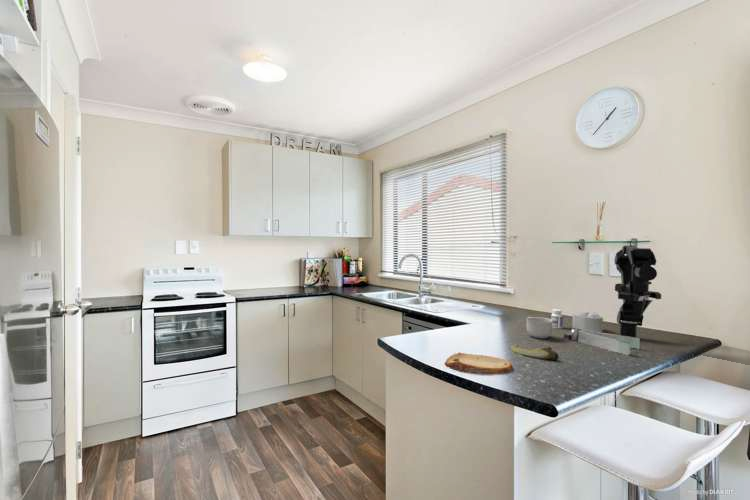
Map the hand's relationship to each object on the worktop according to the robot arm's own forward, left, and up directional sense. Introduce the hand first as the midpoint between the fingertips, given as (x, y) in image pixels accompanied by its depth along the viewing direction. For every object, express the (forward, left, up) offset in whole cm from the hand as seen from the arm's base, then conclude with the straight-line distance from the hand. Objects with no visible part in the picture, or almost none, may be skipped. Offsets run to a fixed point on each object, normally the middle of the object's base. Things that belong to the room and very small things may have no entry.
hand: (639, 316), depth 145 cm
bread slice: (+79, -2, -13) cm, 80 cm away
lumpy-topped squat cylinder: (-8, -28, -13) cm, 32 cm away
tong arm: (+9, -6, -12) cm, 16 cm away
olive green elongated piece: (+50, -8, -13) cm, 52 cm away
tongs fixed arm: (+17, -7, -12) cm, 22 cm away
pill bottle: (+3, -37, -13) cm, 39 cm away
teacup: (+27, -27, -13) cm, 40 cm away
